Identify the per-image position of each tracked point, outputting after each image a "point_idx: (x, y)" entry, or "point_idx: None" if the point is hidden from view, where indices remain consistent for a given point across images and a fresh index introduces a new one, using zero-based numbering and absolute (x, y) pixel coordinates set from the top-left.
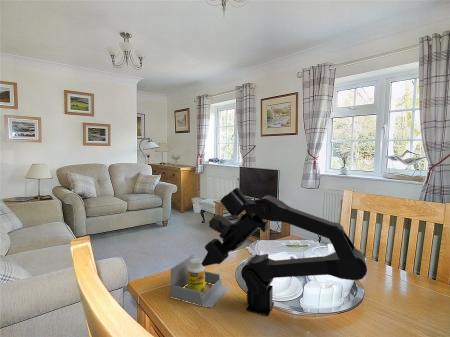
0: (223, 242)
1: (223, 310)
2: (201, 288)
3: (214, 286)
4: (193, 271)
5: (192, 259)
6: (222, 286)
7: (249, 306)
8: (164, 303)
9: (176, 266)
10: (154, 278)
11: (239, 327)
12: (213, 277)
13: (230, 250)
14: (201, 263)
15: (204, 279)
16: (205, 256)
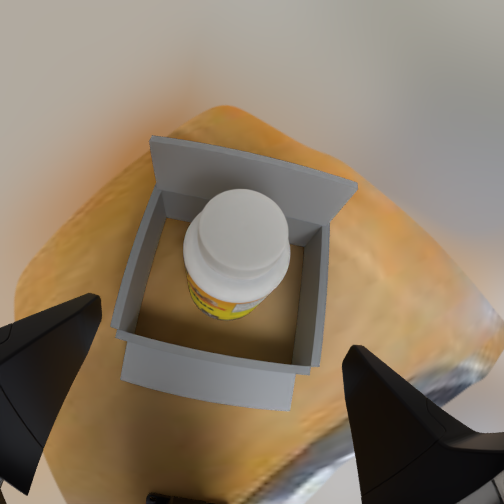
0: (426, 435)
1: (124, 421)
2: (205, 310)
3: (232, 365)
4: (184, 245)
5: (256, 196)
6: (289, 381)
7: (166, 502)
8: (130, 205)
9: (186, 147)
10: (274, 131)
11: (64, 466)
12: (307, 335)
13: (361, 490)
14: (88, 293)
15: (230, 312)
16: (7, 325)
